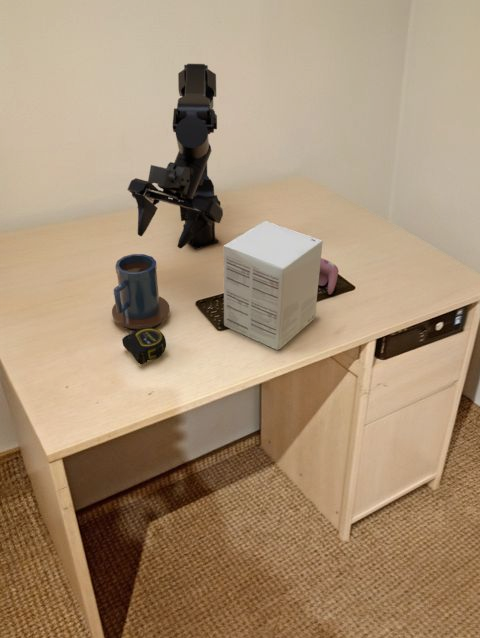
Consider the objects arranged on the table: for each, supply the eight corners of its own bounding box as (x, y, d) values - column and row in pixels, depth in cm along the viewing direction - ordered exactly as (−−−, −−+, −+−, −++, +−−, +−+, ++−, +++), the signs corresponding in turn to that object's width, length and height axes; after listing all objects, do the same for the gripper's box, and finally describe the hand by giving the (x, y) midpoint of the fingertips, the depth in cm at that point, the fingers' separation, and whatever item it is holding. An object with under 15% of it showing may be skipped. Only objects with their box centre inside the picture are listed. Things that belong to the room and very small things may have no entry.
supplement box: (261, 296, 127) (264, 219, 116) (316, 319, 121) (324, 239, 110) (222, 326, 118) (221, 245, 107) (278, 351, 112) (283, 269, 101)
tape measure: (122, 350, 111) (119, 333, 109) (156, 338, 114) (154, 321, 112) (138, 370, 107) (136, 353, 104) (173, 357, 110) (172, 340, 107)
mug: (136, 291, 124) (130, 243, 118) (180, 306, 120) (178, 258, 114) (96, 320, 116) (88, 271, 109) (143, 338, 112) (138, 288, 105)
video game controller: (335, 294, 131) (342, 261, 130) (332, 295, 127) (338, 262, 125) (291, 285, 133) (297, 253, 132) (286, 286, 129) (293, 253, 128)
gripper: (128, 136, 113) (96, 213, 112) (214, 156, 106) (181, 238, 105) (156, 164, 123) (128, 235, 122) (236, 184, 117) (207, 259, 116)
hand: (159, 241), depth 116 cm, fingers open, 9 cm apart
